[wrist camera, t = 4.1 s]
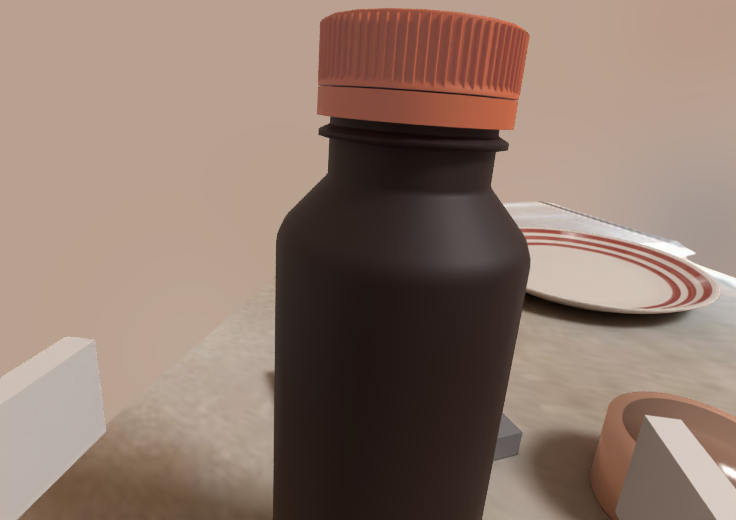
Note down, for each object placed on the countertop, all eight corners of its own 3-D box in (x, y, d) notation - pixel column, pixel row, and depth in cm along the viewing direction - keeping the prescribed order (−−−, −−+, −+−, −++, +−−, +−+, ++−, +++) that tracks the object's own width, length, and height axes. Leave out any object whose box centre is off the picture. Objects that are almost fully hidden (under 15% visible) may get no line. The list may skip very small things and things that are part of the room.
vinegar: (270, 550, 20) (274, 30, 14) (422, 530, 21) (490, 53, 15) (273, 759, 14) (285, -25, 7) (488, 710, 15) (651, 24, 9)
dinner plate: (706, 370, 38) (719, 333, 37) (416, 279, 53) (420, 251, 52) (714, 284, 59) (722, 259, 58) (505, 236, 74) (509, 216, 73)
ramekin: (658, 438, 29) (677, 381, 28) (815, 550, 22) (849, 480, 21) (557, 467, 26) (572, 404, 25) (701, 607, 19) (733, 529, 18)
